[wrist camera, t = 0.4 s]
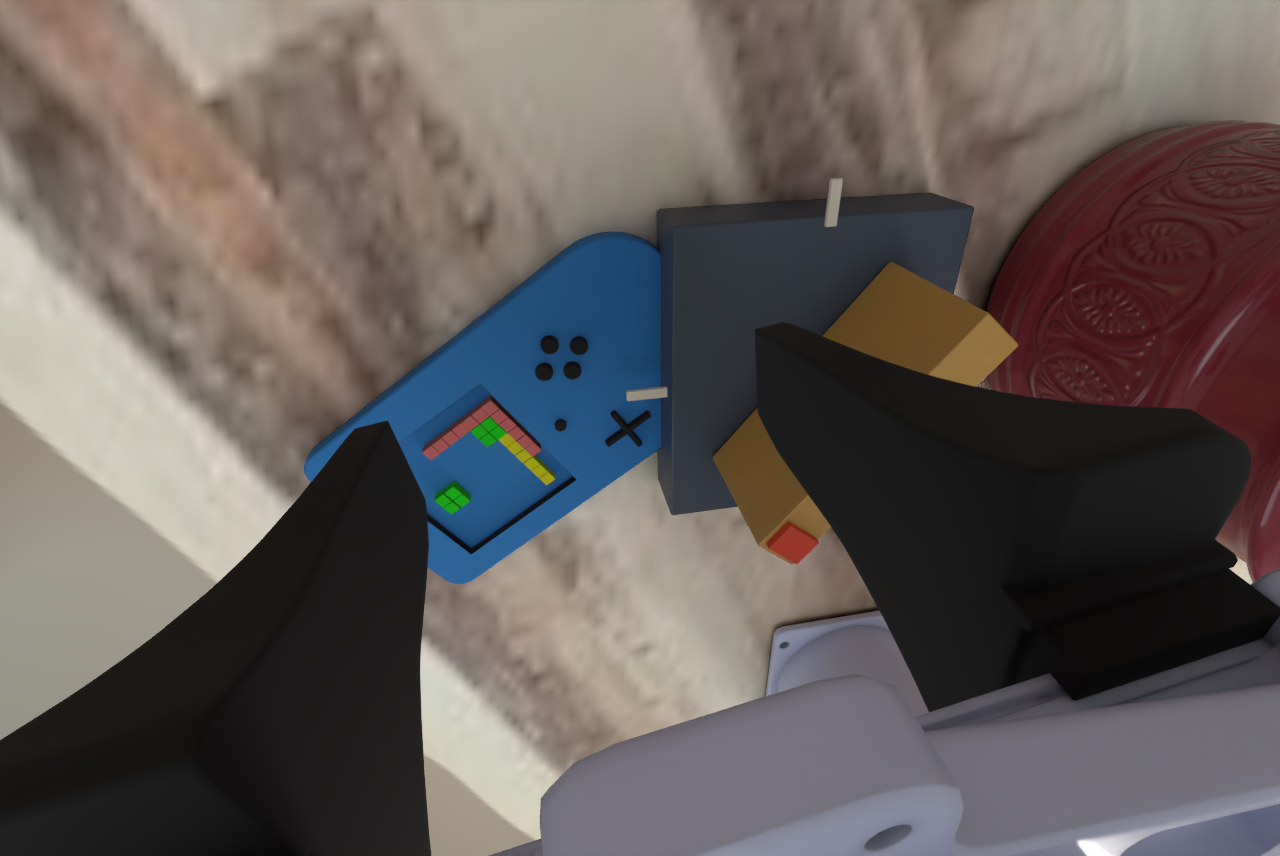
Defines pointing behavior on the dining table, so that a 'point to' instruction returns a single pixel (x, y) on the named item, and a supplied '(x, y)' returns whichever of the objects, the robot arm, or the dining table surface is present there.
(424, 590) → the robot arm
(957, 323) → the tan rectangular block
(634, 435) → the handheld gaming device
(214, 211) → the dining table surface
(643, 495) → the dining table surface
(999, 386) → the kitchen canister
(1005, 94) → the dining table surface
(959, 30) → the dining table surface
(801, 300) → the frame stand
